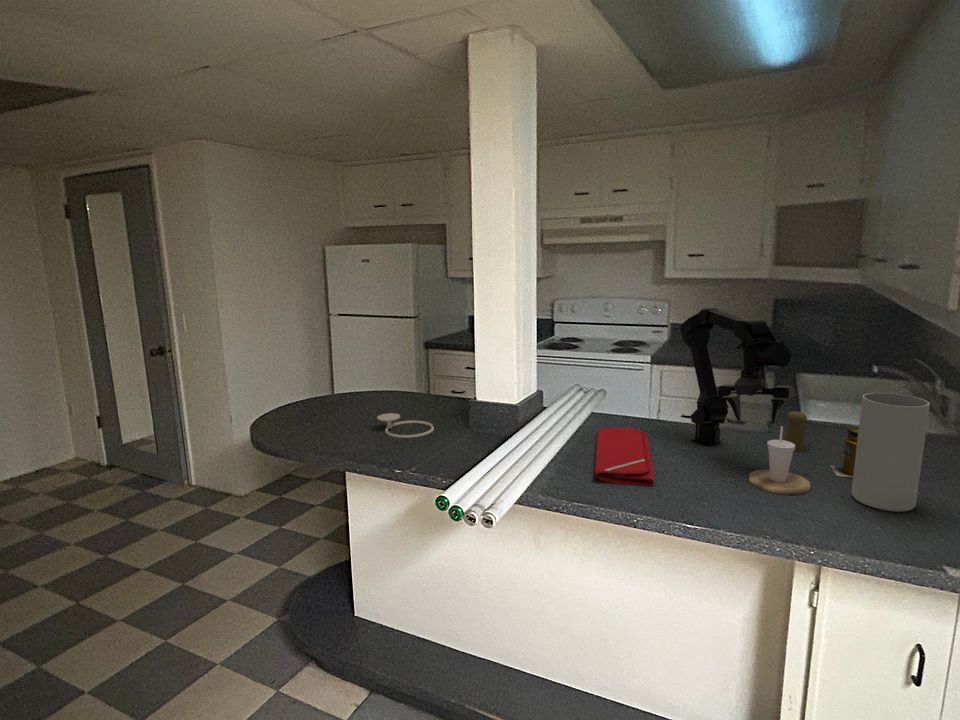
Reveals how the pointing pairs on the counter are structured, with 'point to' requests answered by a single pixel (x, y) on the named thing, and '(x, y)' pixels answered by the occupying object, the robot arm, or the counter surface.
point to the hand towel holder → (393, 417)
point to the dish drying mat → (623, 457)
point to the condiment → (848, 455)
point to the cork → (796, 430)
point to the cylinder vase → (889, 451)
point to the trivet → (779, 483)
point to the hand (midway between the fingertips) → (755, 422)
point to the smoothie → (780, 458)
